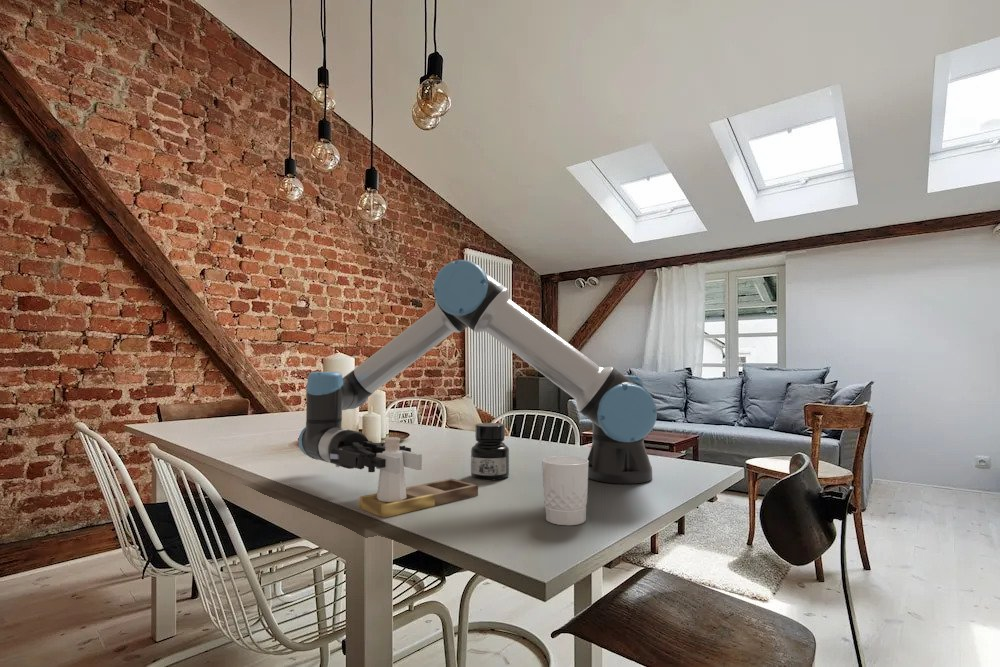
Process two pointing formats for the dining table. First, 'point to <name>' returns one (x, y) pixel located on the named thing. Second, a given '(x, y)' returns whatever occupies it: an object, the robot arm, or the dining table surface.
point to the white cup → (565, 489)
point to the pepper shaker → (392, 475)
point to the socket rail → (420, 497)
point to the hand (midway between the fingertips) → (409, 463)
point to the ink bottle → (490, 452)
